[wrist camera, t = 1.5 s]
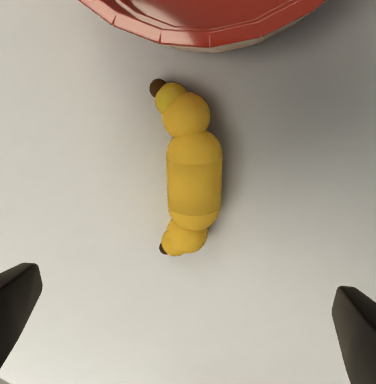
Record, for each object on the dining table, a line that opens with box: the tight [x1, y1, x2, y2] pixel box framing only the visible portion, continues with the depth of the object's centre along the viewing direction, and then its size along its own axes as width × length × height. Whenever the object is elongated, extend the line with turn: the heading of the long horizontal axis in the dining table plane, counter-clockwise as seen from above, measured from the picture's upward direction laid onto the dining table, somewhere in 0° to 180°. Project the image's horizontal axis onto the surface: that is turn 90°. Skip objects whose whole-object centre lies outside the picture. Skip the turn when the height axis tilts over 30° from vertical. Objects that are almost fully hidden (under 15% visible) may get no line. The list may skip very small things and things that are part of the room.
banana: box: [150, 79, 222, 256], centre depth 19 cm, size 12×4×3 cm, turn 0°
